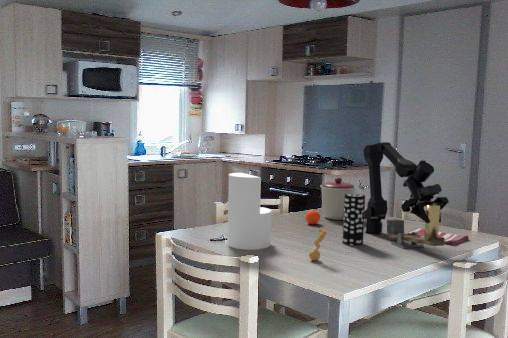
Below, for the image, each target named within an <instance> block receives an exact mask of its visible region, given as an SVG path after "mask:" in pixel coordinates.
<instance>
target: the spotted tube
mask: <svg viewBox="0 0 508 338" xmlns="http://www.w3.org/2000/svg"><path fill="white" fill-rule="evenodd" d="M365 210H366V195H365V194H361V193H354V194H345V195H344V220H343V221H342V222H343V225H342V244H344V245H346V246H350V247H351V246H353V247H359V246H362V245H364V235H365V234H364V233H365V231H364V230H365V219H364V213H365Z"/></svg>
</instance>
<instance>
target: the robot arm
mask: <svg viewBox="0 0 508 338" xmlns="http://www.w3.org/2000/svg"><path fill="white" fill-rule="evenodd" d="M362 152H363V156H364V157H363V158H364V161H366V163H367V165H368V174H369V175H368V176H369V177H368V178H369V189H370V194H369V195H370V197H369V199H368V201H367V206H366V207H367V208H365V213H364V220H366V223H365V225H366V226H365V227H366V228H365V231H364V233H365V234H374V235H381V233H383V226H384V225H383V224H384V222H383V221H382V220H386V217H387V213H388V210H389V208H388V201H387V199H385V198H384V197H383V193H382V190H383V189H382V177H381V175H382V174H381V163H382V161H383V160H384V157H386V158H387V160H388V161H389V162H390V163H391V164H392V165H394V169H395V172H396V174H397V175H398V177H400V178H406V179H405V180H403V184H402V187H405V188H406V187H407V189H408V190H409V192H410V195H409V197H408V198H406V199H405V201H404V202H403V203H402V204H401V210H402V213H408V212H410V213H411V214H413V215H414V216H416V217H418V218H419V219H420V220H422V221H423V222H424V223H425V222H426V223H429V222H430V221H429V218H428V216H427V214H426V209H425V208H426V204H436V205H440V211H441V210H442V209H444V208H445V207H446V206H447V205H448V204H449V203H450V201H449V199H448V197H447V196H437V195H439V194H440V193H441V192H442V191H443V190H442V187H441V185H440V184H439V183H434V184H433V185H432V184H431V185H426V186H425V185H424V184H423V183H425V182H427V180H429V178H430V177H431V176H432V175H433V174H434V172H435V168H434V166H433V165H431V164H430V163H428V162H427V161H426V160H424V159H423V160H420V161H419V162H418V164H416V163H415V162H413V161H412V160H409V159H406V158H405V157H404V156H402V154H400V152H399V151H397V150H396V149H395V148H394V146H392V144H391V142H388V141H387V142H385V141H380V142H378V143H376V144H375V143H374V144H367V145H365V147H364V148H363V151H362ZM435 196H437V197H436V198H435ZM434 198H435V199H434ZM433 199H434V200H433ZM441 215H442V214H441V213H440V215H439V224H440V223H441V222H442V217H441Z"/></svg>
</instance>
